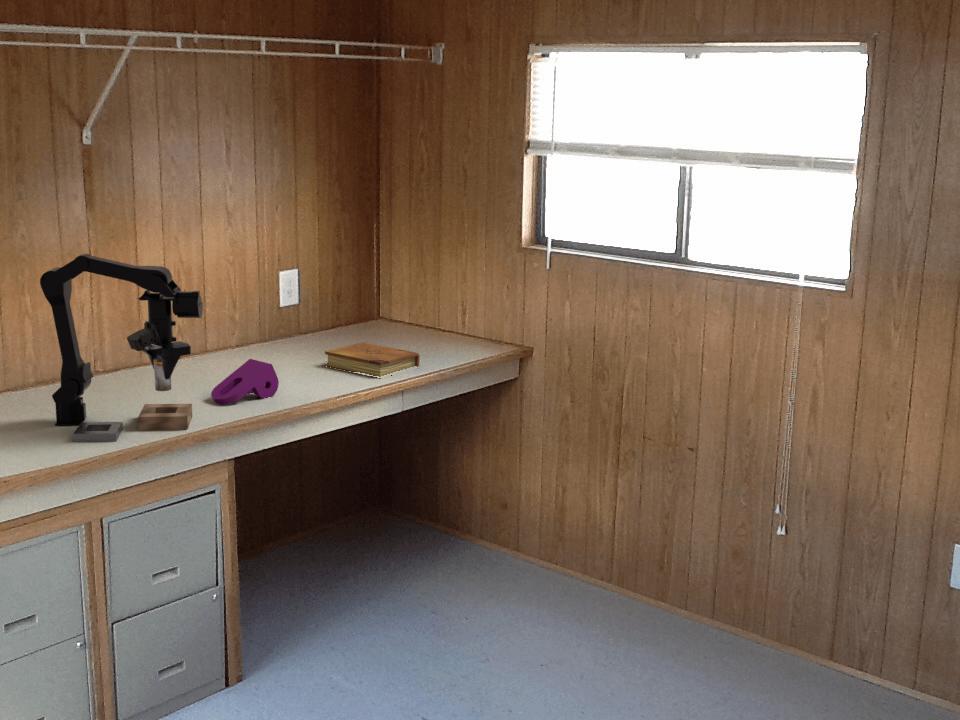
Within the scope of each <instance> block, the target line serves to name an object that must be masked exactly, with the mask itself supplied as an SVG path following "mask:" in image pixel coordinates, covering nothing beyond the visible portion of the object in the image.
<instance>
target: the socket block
mask: <svg viewBox="0 0 960 720" xmlns="http://www.w3.org/2000/svg"><path fill="white" fill-rule="evenodd" d="M192 419H193V403H145V404H144V405H143V407H142V408H141V410H140V412H139V414H138V416H137V424H138V431H180V430H179V429H189V426H190V424H191V422H192ZM177 429H178V430H177Z"/></svg>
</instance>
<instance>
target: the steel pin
mask: <svg viewBox="0 0 960 720" xmlns="http://www.w3.org/2000/svg"><path fill="white" fill-rule="evenodd" d="M153 371H154V374H153V375H154V390H155V391H156V392H167V391H172V376H171V377H170V379H167V380H166V379H165V376H164V370H163V364H162V360H161V359H160V358H159V357H157V358H154V369H153Z"/></svg>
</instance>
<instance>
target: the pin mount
mask: <svg viewBox="0 0 960 720" xmlns="http://www.w3.org/2000/svg"><path fill="white" fill-rule="evenodd" d="M123 423H124V422H123V421H89V422H88V421H87V422H81V423H80V425H77V427H76V429H75V430H74V432H73V434H72V438H73V439H72V441H73V443H80V442H81V443H88V442H89V443H90V442H91V441H92V442H93V443H95V442H97V443H98V442H117V440H118V439H119V437H120V436H121V434H120V433H122V432H121V431H124V428H123V425H124V424H123ZM85 441H87V442H85ZM92 442H91V443H92Z"/></svg>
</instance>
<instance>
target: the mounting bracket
mask: <svg viewBox="0 0 960 720" xmlns="http://www.w3.org/2000/svg"><path fill="white" fill-rule="evenodd" d="M279 383H280V382H279V378H278V374H277V373H276V370H275V368H274V366H273V364H272V363H270V362H269V363H268V362H265V361H260V360H257V359H252V358H249V359H248V360H246V361H245V362H244V363H243V364H242V365H240V366H239V367H238V368H237V369H235V370H234V371H233V372H232V373H231V374H229V375H227V377H226V378H224V379H223V380H222V381H221V382H220V383H218V384H217V385H216V386H215V387H214V388H212V390H211V393H210V396H211V398H212V400H213V402H214V404H216V405H220V406H226V405H228V406H229V405H231V404H233V403H237V401H239V400H240V399H242V398H243V397H244V396H245V395H246V394H247V395H250V393H251V394H253V395H254V396H255V397H257V398H260V399H264V398H266V399H269V398H268V397H270V398H272V397H274V395H275V394H276V393H277V391H278V389H279ZM271 396H272V397H271Z"/></svg>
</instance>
